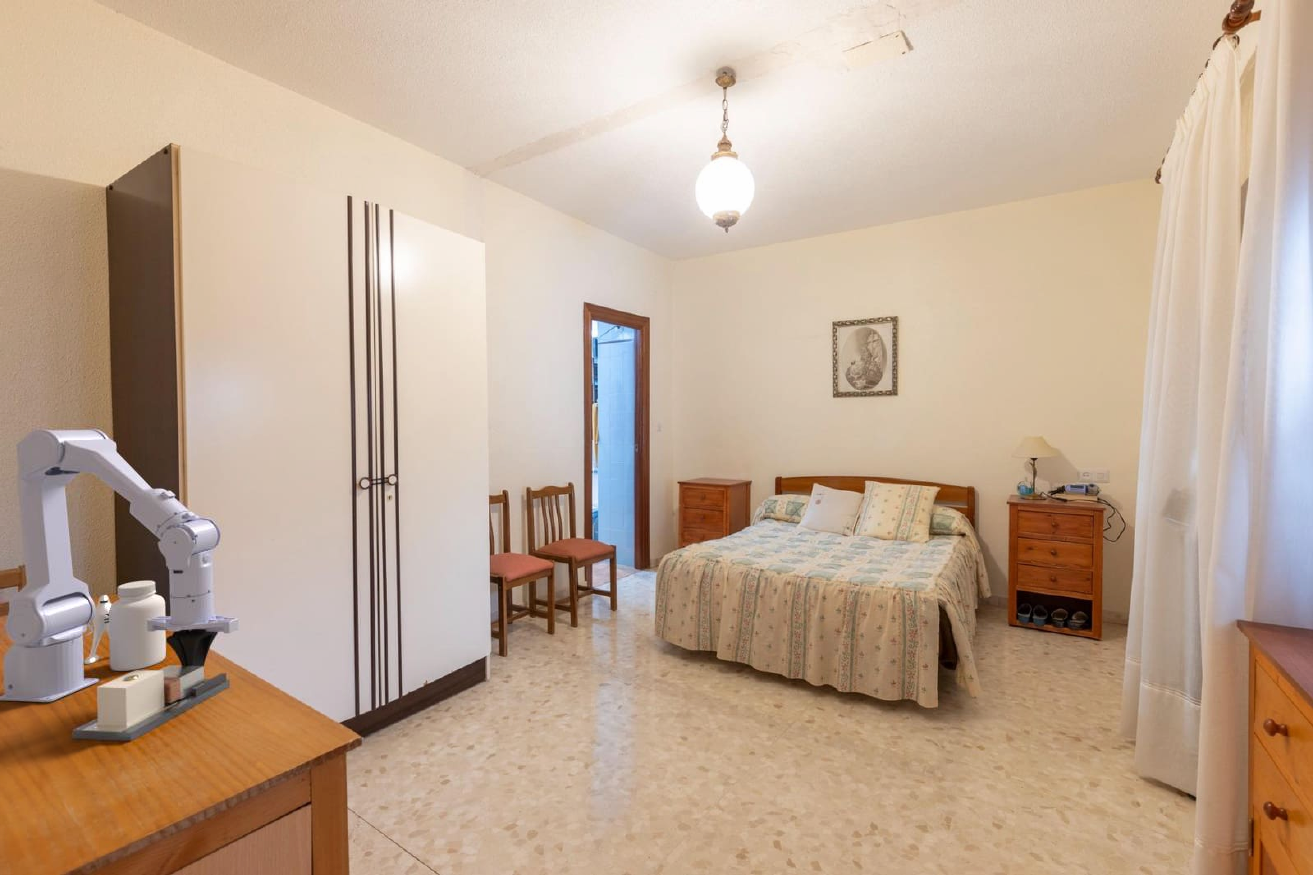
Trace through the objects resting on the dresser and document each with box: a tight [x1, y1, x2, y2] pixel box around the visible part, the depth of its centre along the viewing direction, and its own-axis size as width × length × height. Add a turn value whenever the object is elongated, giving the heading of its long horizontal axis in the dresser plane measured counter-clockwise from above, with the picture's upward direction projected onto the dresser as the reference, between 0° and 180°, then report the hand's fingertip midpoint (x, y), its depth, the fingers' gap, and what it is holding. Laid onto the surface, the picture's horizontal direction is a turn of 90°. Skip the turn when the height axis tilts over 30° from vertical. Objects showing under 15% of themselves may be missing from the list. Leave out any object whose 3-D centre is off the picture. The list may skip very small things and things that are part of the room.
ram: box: [157, 664, 205, 703], centre depth 95 cm, size 6×6×4 cm
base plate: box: [72, 672, 231, 742], centre depth 93 cm, size 9×18×2 cm, turn 175°
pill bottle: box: [108, 580, 167, 672], centre depth 112 cm, size 8×8×15 cm
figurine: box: [83, 594, 113, 665], centre depth 114 cm, size 7×4×12 cm, turn 131°
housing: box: [96, 669, 164, 726], centre depth 89 cm, size 4×6×6 cm
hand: (194, 673), depth 100 cm, fingers closed, pressing on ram
